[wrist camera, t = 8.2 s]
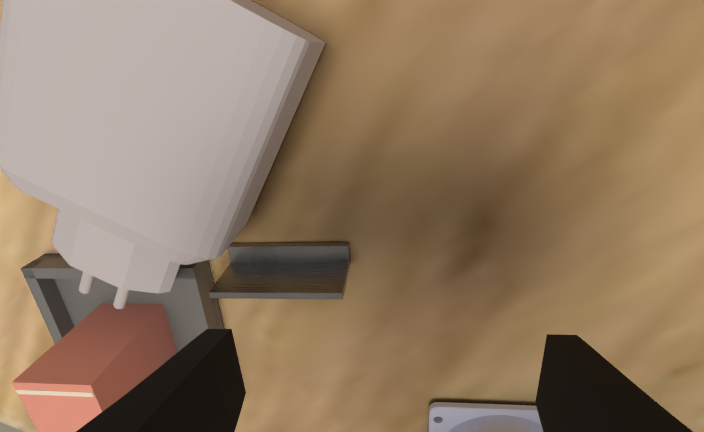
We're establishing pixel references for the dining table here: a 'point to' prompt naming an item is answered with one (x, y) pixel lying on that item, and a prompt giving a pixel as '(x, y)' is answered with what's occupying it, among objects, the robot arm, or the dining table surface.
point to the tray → (180, 303)
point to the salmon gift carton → (95, 365)
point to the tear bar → (285, 271)
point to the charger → (146, 125)
